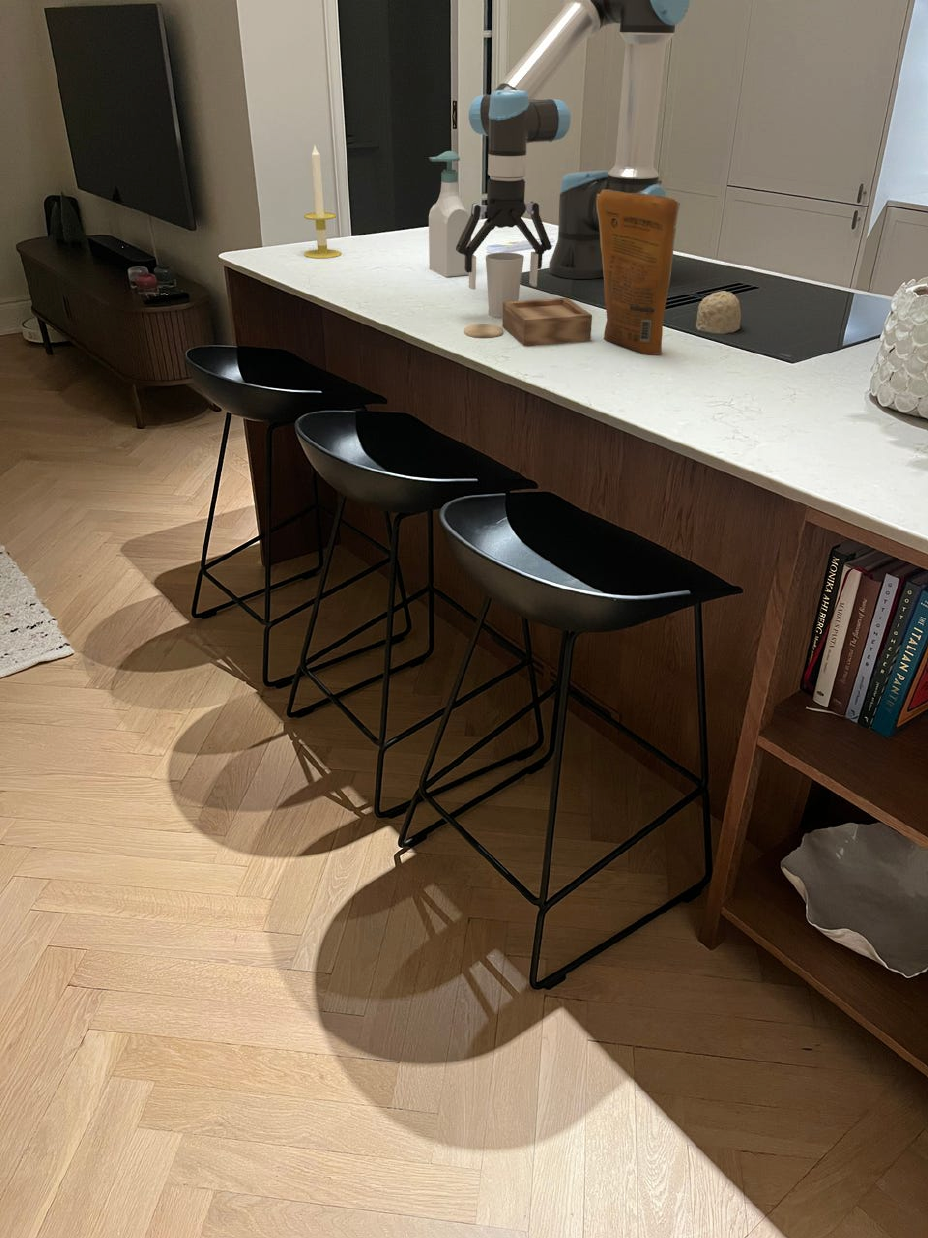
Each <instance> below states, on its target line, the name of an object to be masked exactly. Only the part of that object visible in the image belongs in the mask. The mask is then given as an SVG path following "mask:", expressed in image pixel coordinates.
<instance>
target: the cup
mask: <svg viewBox="0 0 928 1238" xmlns="http://www.w3.org/2000/svg"><path fill="white" fill-rule="evenodd" d="M524 259H525V257H524V255H523V254H521V253H517V252H508V251H507V252H505V251H504V252H491V253H489V254H486V255H485V267H486V281H487V298H488V299H487V301H488V316H489V317H491V318H496V319H503V302H510V301H520V300H519V299H520V290H521V282H522V281H521V280H522V273H523V267H524V266H523V265H524Z"/></svg>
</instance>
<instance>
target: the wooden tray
mask: <svg viewBox="0 0 928 1238" xmlns="http://www.w3.org/2000/svg"><path fill="white" fill-rule="evenodd" d="M592 320H593V314H592V313H590V312H588V311H587V310H586V309H584V308H583V307H581V306H580V305H578V304H576V303H575V302H574V301H573V300H571V299H570V298H569V297H557V298H556V297H554V298H542V299H528V300H527V299H525V300H519V301H510V302H503V318H502V323H501V324H502V326H501V327H502V328H503V329H504V330H505V331H507V333H509V334H510V335H511V336H512V337H514V339H516V340H517V341H518V342H519V343H520V345H522V346H523V347H524V346H526V347H528V346H539V345H551V344H564V343H575V342H577V343H578V342H588V341H591V336H592V322H593V321H592Z"/></svg>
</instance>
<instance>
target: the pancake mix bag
mask: <svg viewBox="0 0 928 1238" xmlns="http://www.w3.org/2000/svg"><path fill="white" fill-rule="evenodd" d="M596 206H597V213H598V219H599V228H600V242H601V251H602V262H603V273H604V277H603V283H604V302H605V310H606V319H607V321H606V324H605V328H604V334H603V336H604V337H603V340H604V341H606V342H608V343H611V344H615V345H617V346H621V347H624V348H626V349H629V350H631V351H633V352H636V353H639V354H642V355H643V354H644V355H663V334H664V333H663V330H664V329H663V328H664V326H663V325H664V319H665V318H664V317H665V312H666V307H667V306H666V305H667V304H666V303H667V299H668V292H669V286H670V282H671V275H672V274H671V273H672V263H673V258H674V245H675V239H676V234H677V233H676V232H677V224H678V223H677V222H678V216H679V215H678V214H679V210H680V206H681V203H680V202H678V201H676V200H675V199H674V198H672V197H668V196H667V197H662V196H656V195H649V194H641V193H625V192H619V191H612V190H602V191H601V193H600V195H599V194H597V200H596Z"/></svg>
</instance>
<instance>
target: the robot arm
mask: <svg viewBox="0 0 928 1238" xmlns="http://www.w3.org/2000/svg"><path fill="white" fill-rule="evenodd" d="M690 1H691V0H563V3H562V9H561V11H560V12H559V13H558V14H557V15H556V17H555V18H554V19H553V20H552V21H551V22H550V23H549V25H548V26H547V27H546V29H545V30H544V31H543V32H542V33H541V34H540V36H539V37H538V38H537V39H536V40H535V41H534V43H533V44H532V46H531V47H530V48H529V49H528V50H527V51H526V52H525V54H524V55H523V56H522V57H521V58H520V60H519V61H518V62H517V63H516V64H515V65H514V67H513V68H512V69H511V70H510V71H509V73H508V74H507V75H506V76H505V77H504V78H503V80H502V81H501V82H500V83H499V84H498V86H497V87H496V88H495V89H494V90H493V92H492V93H491V94H487V93H486V94H482V95H477V96H476V97H474V98H473V99H472V102H471V103H470V106H469V109H468V121H469V125H470V127H471V129H472V130H473V132H475V133H476V134H479V135H482V136H486V137H488V162H487V163H488V166H487V167H488V168H487V175H488V176H490V177H488V180H487V195H486V197H487V200H486V204H485V205H482V204H477V203H472V204H471V211H470V215H469V216H470V218H469V220H468V222H467V224H466V227H465V229H464V231H463V233H462V235H461V237H460V240H459V242H458V244H457V246H456V251H458V252H459V253H460V254H464V256H465V266H464V269H465V271H466V272H469V275H468V288H470V289H471V290H476V289H477V288H476V287H477V286H476V285H477V284H476V282H477V277H476V276H477V257H476V256H475V255H474V254H475V252H476V251H477V250H478V248H480V246H481V245H482V243H483V242H484V241H485V240H486V238H487V237H488V235H489V234H490V233H491V231H493V230H494V229H495V228H498V229H500V228H501V229H503V228H506V227H507V228H514V227H515V226H516V227H517V228H518V230H519V231H520V232H521V234H522V235H523V236H524V238H525V239H526V240H527V241H528V243H529V245H530V246H531V247H532V249H533V250H534V251H530V261H529V262H530V263H529V264H530V265H529V283H528V284H529V285H530V286H532V287H538V270H541V269H542V267H543V255H544V253H545V252H547V251H551V249H552V243H551V241H550V239H549V235H548V233H547V230H546V228H545V226H544V223H543V221H542V218H541V215H540V205H539V204H538V203H537V202H535V201H530V203H525V189H526V187H525V186H526V181H525V179H524V177H525V176H526V169H527V168H526V165H527V164H526V163H527V161H526V160H527V145H528V144H529V143H543V142H549V143H551V142H553V141H557V140H561V139H563V138H564V137H565V136H566V135H567V133H568V132H569V130H570V127H571V112H570V109H569V107H568V105H567V103H565V102H564V101H563V100H561V99H553V98H547V99H537V98H538V96H539V95H540V94H541V93H543V90H545V88H546V87H547V86H548V85H549V83H550V82H552V80H553V79H554V78H555V76H556V75H557V74H558V73H559V71H560V70H561V69H562V68H563V66H565V64H566V63H567V62H568V61H569V59H571V57H572V56H573V55H574V54H575V52H576V51H578V48H580V47H581V45H582V44H583V43H584V41H585V40H586V39H587V38H593V37H595V36H596V34H598V33H599V32H600V30H601V29H603V28H604V27H605V26H609V25H613V24H619V35H620V36H621V38H622V39H623V41H624V43H625V47H624V49H625V50H624V59H623V61H624V62H623V69H622V70H623V71H622V82H621V92H620V94H621V95H620V106H619V117H618V118H619V119H618V126H617V127H618V128H617V129H618V130H617V139H616V151H615V164H614V165H613V167H612V168H611V169H610V170H604V169H603V170H591V171H588V170H587V171H581V172H580V171H578V172H573V173H572V172H571V173H567V174H565V175H563V177H562V178H561V182H560V183H561V184H560V190H559V193H558V195H559V202H558V203H559V205H558V208H559V209H558V226H557V227H558V228H557V229H558V230H557V231H558V232H557V233H558V234H557V241H556V244H555V246H554V249H553V252H552V254H551V258H550V260H549V266H548V272H549V273H550V275H552V276H555V277H559V278H564V279H576V280H589V279H592V280H593V279H600V278H604V273H603V262H602V251H601V242H600V228H599V219H598V213H597V206H596V200H597V194H599V195H600V193H601V191H602V190H612V191H619V192H625V193H641V194H649V195H656V196H662V197H667V198H668V196H667V194H666V190H665V189H664V187H662V186H661V185H660V184H659V177H660V174H659V172H658V171H657V170H656V168H655V167H654V162H655V161H654V160H655V151H656V142H657V134H658V133H657V132H658V125H659V124H658V123H659V115H660V114H659V113H660V105H661V104H660V103H661V96H662V95H661V94H662V87H663V86H662V85H663V76H664V67H665V65H664V64H665V57H666V56H665V55H666V49H667V48H666V47H667V44H668V42H669V41H670V40H671V39H672V38H673V37H674V35H675V32H676V26H677V25H678V24H680V23H681V22H682V21H683V20H684V19H685V17H686V13H687V12H688V10H689V8H690ZM526 211H527V214H529V215H530V219H531V221H532V223H533V225H534V228H535V230H536V232H537V236H538V239H539V240H540V243H541V244H540V243H539V241H538V240H537V238H536V237H535V235H534V234H533V233H532V232H531V230H530V229H529V228H528V226H527V224H526V223H525V221H524V220H523V219H522V217H523V216H524V214H525V212H526ZM484 213H486V215H487V216H488V217H487V218H486V220H485V221H484V223H483V225H482V226H481V228H480V229H479V230H478V231H477V233H475V235H474V237H473V238H472V236H473V234H474V231H475V229H476V227H477V225H478V223H479V221H480V217H482V216H483V214H484ZM470 238H471V242H470V243H469V245H468V242H469V240H470ZM467 245H468V246H467Z"/></svg>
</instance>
